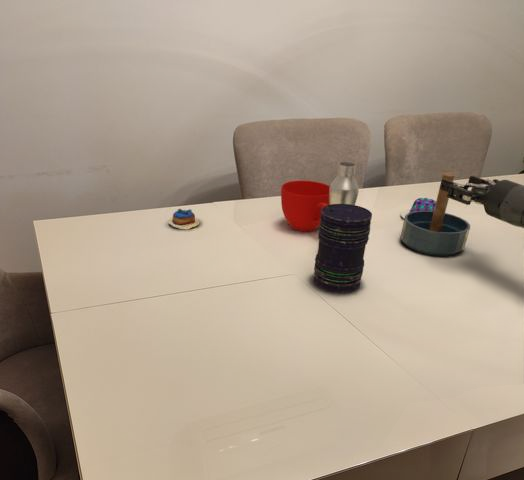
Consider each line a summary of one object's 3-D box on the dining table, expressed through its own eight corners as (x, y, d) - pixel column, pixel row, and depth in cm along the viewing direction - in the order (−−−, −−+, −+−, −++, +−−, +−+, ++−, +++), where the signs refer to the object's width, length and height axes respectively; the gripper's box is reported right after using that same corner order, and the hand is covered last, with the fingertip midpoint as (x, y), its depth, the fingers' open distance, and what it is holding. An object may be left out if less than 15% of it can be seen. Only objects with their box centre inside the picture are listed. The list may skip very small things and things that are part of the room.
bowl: (471, 244, 125) (478, 221, 121) (450, 263, 114) (457, 238, 111) (414, 228, 132) (419, 206, 129) (389, 245, 122) (394, 221, 118)
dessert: (183, 229, 122) (174, 206, 121) (169, 238, 127) (160, 216, 126) (207, 223, 127) (198, 201, 127) (192, 232, 132) (183, 211, 132)
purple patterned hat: (441, 214, 142) (446, 196, 139) (447, 229, 133) (452, 210, 130) (399, 210, 144) (402, 191, 141) (401, 224, 134) (405, 205, 131)
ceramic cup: (300, 245, 119) (304, 203, 114) (270, 220, 132) (272, 182, 126) (346, 238, 124) (352, 198, 118) (313, 215, 137) (317, 178, 131)
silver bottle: (344, 246, 120) (356, 160, 108) (353, 258, 114) (367, 168, 103) (318, 247, 119) (328, 160, 107) (325, 259, 113) (337, 168, 102)
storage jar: (362, 275, 107) (374, 207, 99) (359, 296, 99) (371, 223, 91) (316, 269, 109) (323, 201, 100) (309, 289, 101) (317, 217, 92)
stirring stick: (444, 241, 123) (461, 174, 114) (437, 246, 120) (454, 178, 111) (427, 236, 125) (443, 170, 116) (420, 241, 122) (435, 174, 113)
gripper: (545, 182, 101) (483, 162, 113) (496, 189, 96) (436, 167, 107) (532, 218, 106) (473, 195, 117) (484, 226, 100) (428, 201, 112)
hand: (455, 182), depth 112 cm, fingers open, 8 cm apart
